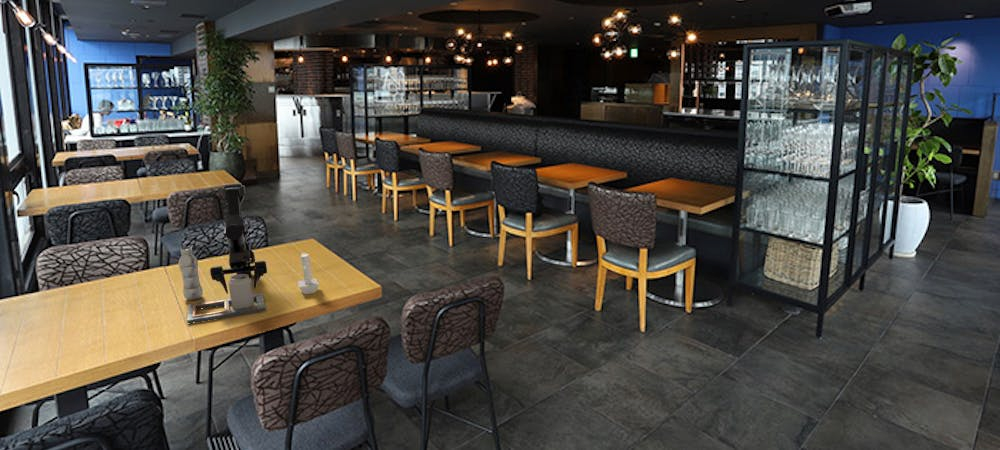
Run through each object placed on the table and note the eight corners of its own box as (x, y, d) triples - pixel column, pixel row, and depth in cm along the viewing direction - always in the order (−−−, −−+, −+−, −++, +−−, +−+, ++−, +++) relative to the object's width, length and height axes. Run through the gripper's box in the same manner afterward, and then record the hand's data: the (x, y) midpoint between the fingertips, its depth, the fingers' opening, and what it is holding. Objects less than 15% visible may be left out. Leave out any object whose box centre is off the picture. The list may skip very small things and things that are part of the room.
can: (249, 311, 214) (245, 280, 211) (228, 311, 215) (224, 280, 211) (257, 303, 222) (253, 272, 218) (237, 303, 222) (233, 272, 218)
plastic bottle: (207, 296, 228) (200, 246, 223) (193, 303, 222) (185, 251, 217) (194, 294, 230) (186, 244, 225) (180, 300, 224) (171, 250, 219)
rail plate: (262, 296, 227) (262, 292, 227) (265, 311, 214) (265, 306, 214) (189, 308, 217) (188, 303, 217) (187, 324, 204) (187, 319, 204)
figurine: (300, 297, 227) (296, 259, 223) (297, 289, 235) (293, 252, 231) (320, 294, 230) (316, 257, 225) (316, 286, 238) (313, 250, 234)
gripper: (206, 246, 212) (209, 285, 205) (263, 239, 219) (267, 278, 212) (211, 260, 221) (213, 298, 214) (265, 254, 228) (269, 291, 221)
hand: (241, 291), depth 215 cm, fingers open, 9 cm apart
